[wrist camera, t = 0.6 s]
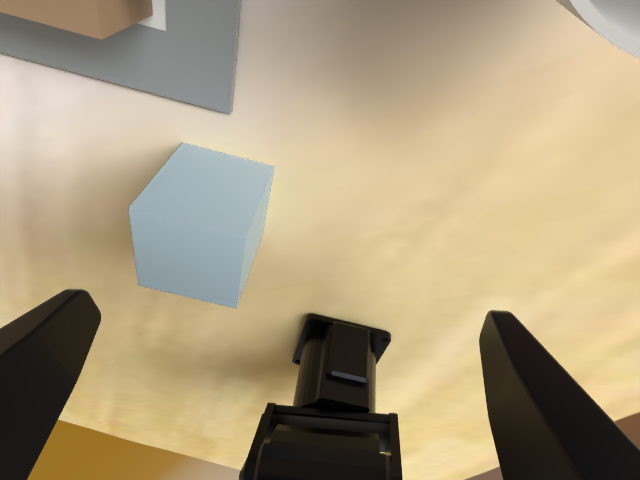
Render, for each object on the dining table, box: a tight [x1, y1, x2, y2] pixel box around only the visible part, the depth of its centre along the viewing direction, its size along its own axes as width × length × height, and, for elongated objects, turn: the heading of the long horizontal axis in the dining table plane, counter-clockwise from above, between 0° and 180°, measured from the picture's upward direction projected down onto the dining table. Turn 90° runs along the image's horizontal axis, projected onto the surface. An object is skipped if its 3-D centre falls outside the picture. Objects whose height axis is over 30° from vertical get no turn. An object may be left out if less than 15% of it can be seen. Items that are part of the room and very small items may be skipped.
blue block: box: [128, 143, 275, 308], centre depth 20 cm, size 5×5×6 cm
